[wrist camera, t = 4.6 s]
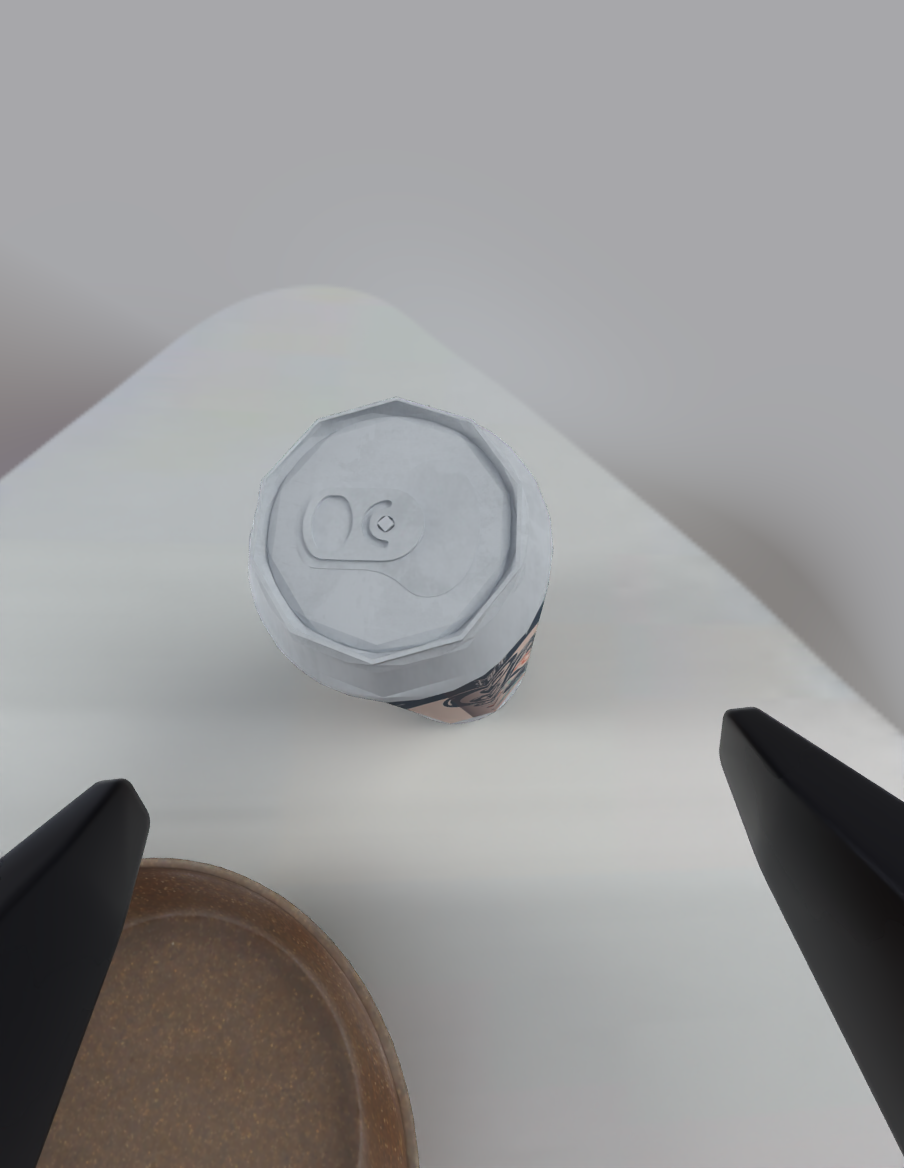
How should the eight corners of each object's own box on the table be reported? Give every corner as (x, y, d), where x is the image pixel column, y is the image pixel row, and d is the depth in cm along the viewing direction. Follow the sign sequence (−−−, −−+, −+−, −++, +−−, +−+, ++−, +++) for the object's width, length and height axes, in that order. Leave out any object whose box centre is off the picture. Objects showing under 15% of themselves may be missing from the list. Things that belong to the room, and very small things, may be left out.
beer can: (525, 728, 19) (556, 706, 7) (379, 720, 19) (193, 688, 8) (529, 584, 20) (559, 371, 9) (391, 579, 21) (245, 372, 9)
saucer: (-157, 1335, 16) (-283, 1448, 14) (58, 789, 20) (-11, 796, 17) (345, 1583, 14) (309, 1773, 12) (488, 921, 18) (485, 952, 15)
